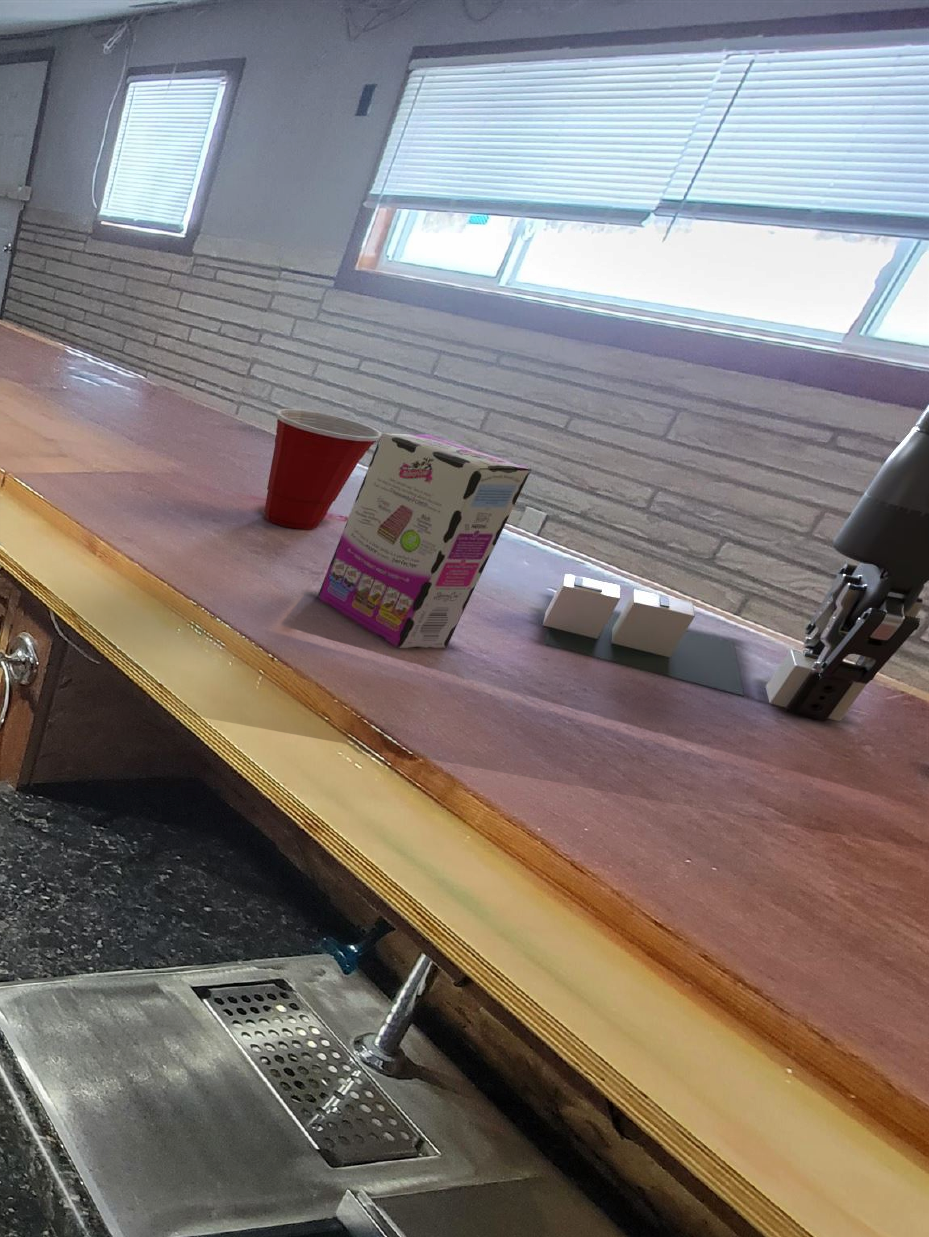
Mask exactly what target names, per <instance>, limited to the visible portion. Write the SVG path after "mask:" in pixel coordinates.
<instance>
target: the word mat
mask: <svg viewBox="0 0 929 1237" xmlns="http://www.w3.org/2000/svg"><path fill="white" fill-rule="evenodd" d="M619 616H620V614H618V613H614V612H613V613H612V614H611V616H610V618H609V620H608V622H607V623H606V625H605V627H604V629H603V630H602V632H601V634H600V636H599V638H598V639H596V638H592V637H588V636H584V635H580V634H576V633H572V632H568V631H564V630H560V629H556V628H552V627H548V631H547V636H546V641H545V646H548V647H552V648H556V649H560V650H563V651H567V652H571V653H575V654H577V655H578V654H579V655H582V656H586V657H590V658H594V659H598V660H602V661H606V662H608V663H609V662H610V663H614V664H616V665H621V666H625V667H629V668H633V669H636V670H641V671H645V672H649V673H651V674H655V675H660V676H663V677H668V678H671V679H675V680H678V681H683V682H687V683H691V684H693V685H694V684H695V685H698V686H702V687H706V688H710V689H714V690H716V691H717V690H718V691H721V692H725V693H729V694H733V695H737V696H740V697H745V693H744V688H743V683H742V682H743V681H742V677H741V672H740V668H739V663H738V658H737V652H736V648H735V642H734V641H732V640H729V639H724V638H721V637H716V636H712V635H707V634H703V633H699V632H695V631H690V630H688V629H687V630H686V632H685V633H684V635H683V637H682V638H681V640H680V642H679V643H678V645H677V647H676V648H675V650H674V652H673V653H672V655H671V656H670V657H666V656H662V655H658V654H654V653H650V652H646V651H642V650H638V649H634V648H630V647H626V646H622V645H618V644H614V643H611V642H612V628H613V627H614V625H615V623H616V621H617V620H618V618H619Z"/></svg>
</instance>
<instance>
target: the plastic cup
mask: <svg viewBox="0 0 929 1237" xmlns="http://www.w3.org/2000/svg"><path fill="white" fill-rule="evenodd" d="M275 418H276V422H277V423H276V430H275V432H276V434H275V437H274V438H275V439H274V448H273V454H272V459H271V465H270V470H269V471H270V472H269V477H268V482H267V489H266V490H267V493H266V494H267V495H266V499H265V505H264V511H263V512H264V519H266V520H267V521H268V522H270V523H272V524H274V525H278V526H281V527H285V528H290V529H295V530H313V529H316V528H318V527H319V525H320V523H322V522H323V520H324V519H325V517H326V515H327V514H328V512H329V510H330V508H331V506H332V504H333V502H335V501H336V500H337V498H338V496H339V495H340V493H341V491H342V490H343V488H344V487H345V485H346V483H347V481H348V480H349V478H350V477H351V475H352V474H353V472H354V470H355V468H356V467H357V465H358V463H359V461H361V459H363V457H364V456H365V455H366V452H368V451H369V450H370V449H371V447H372V446H373V445H374V444H375V443H376V442H377V441H379V439H380V436H381V434H383V432H381V431H380V430H378V429H376V428H375V427H373V426H369V425H367V424H364V423H362V422H359V421H355V420H351V419H348V418H346V417H345V418H344V417H341V416H337V415H332V414H328V413H323V412H318V411H312V410H305V409H296V408H294V409H293V408H283V409H282V408H281V409H277V410H276V414H275Z"/></svg>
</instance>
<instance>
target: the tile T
mask: <svg viewBox="0 0 929 1237" xmlns="http://www.w3.org/2000/svg"><path fill="white" fill-rule="evenodd" d="M818 658H819V656H818V655H814V654H810V653H805V652H803V651H800V650H796V649H791V648H790V649H789V651H788V652H787V654H786V655H785V657H784V658H783V659H782V661H781V663H780V664H779V666H778V667H777V669H776V670H775V671H774V673H773V674H772V676H771V678H769V681H768V682H767V683H766V685H765V689H766V694H767V698H768V702H769V704H771V705H775V706H779V707H784V708H786V707H787V705H788V704H789V702H790V701H791V700H792V698H793V697H794V695H795V694H796V692H797V691H798V689H799V688H800V687H801V685H802V684H803V682H804V681H805V679H806V678H807V676H808V675H809V674H810V672H811V671H812V669H813V668H812V665H813V664H814V663H815V662H816V661H817V659H818ZM843 662H845V661H844V660H843ZM846 662H847V663H849V662H848V661H846ZM850 663H851V662H850ZM851 664H853V663H851ZM867 685H868V683H867V684H863V683H857V684H856V683H853V684H852V685H851V687H850V688H849V689H848V691H847V692H846V694H845V695H844V696H843V698H842V699H841V700H840V702H839V703H838V705H837V706H836V707H835V709H834V710H833V712H832V713H831V714H830V716H829V717H828V718H827V719H830V720H834V721H837V722H840V721H841V720H842V719H843V718H844V716H845V715H846V713H847V712H848V711H849V709H850V708H851V707H852V706H853V704H854V702H855V701H856V700H857V698H859V696H860V694H861V693H862V691H863V690H864V689H865V688H866V686H867Z"/></svg>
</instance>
